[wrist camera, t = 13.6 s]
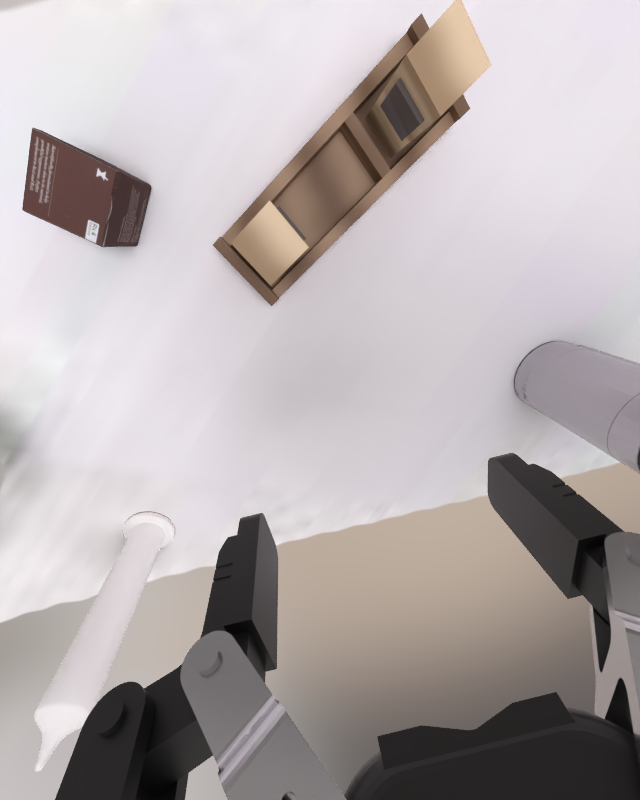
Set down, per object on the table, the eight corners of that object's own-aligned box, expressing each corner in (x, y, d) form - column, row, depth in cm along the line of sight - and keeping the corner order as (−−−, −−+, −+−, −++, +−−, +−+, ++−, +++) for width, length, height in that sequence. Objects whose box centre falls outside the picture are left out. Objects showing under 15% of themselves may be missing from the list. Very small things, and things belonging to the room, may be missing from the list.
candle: (114, 531, 48) (-33, 780, 26) (143, 503, 47) (14, 741, 24) (156, 553, 51) (56, 796, 28) (185, 527, 49) (103, 762, 27)
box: (86, 150, 30) (30, 122, 23) (153, 186, 32) (119, 169, 25) (73, 218, 32) (19, 210, 25) (137, 248, 34) (102, 248, 27)
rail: (402, 46, 29) (472, -74, 18) (446, 126, 32) (530, 63, 21) (221, 245, 34) (192, 243, 23) (272, 300, 37) (268, 320, 26)
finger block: (399, 81, 29) (459, -4, 20) (423, 124, 31) (491, 65, 21) (362, 122, 30) (401, 59, 20) (387, 161, 32) (435, 121, 22)
